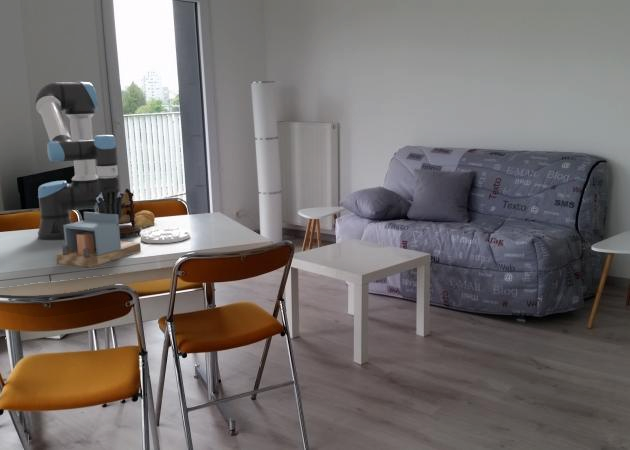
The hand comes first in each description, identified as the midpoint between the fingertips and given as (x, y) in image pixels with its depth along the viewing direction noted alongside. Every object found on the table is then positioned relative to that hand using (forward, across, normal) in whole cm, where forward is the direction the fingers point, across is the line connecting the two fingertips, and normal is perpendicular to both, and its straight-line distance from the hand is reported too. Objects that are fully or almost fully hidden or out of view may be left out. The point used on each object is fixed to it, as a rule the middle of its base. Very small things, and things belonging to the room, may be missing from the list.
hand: (112, 238), depth 240 cm
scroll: (+6, +25, +18) cm, 31 cm away
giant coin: (+6, +27, -3) cm, 28 cm away
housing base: (+5, -7, 0) cm, 9 cm away
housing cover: (+2, -10, 0) cm, 10 cm away
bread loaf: (+6, +47, +26) cm, 54 cm away
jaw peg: (+6, -14, 0) cm, 15 cm away
